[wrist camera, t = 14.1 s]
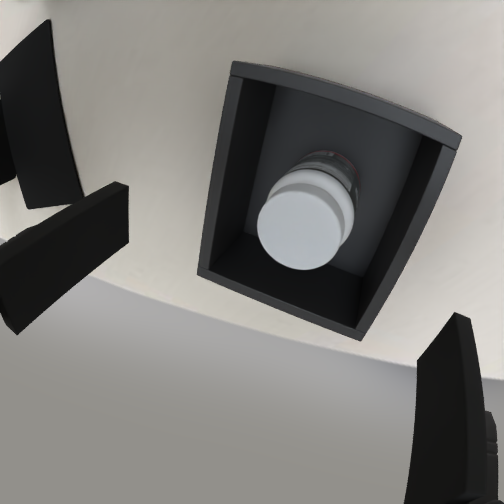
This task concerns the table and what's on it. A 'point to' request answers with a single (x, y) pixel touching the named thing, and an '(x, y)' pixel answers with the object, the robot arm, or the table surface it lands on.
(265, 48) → the table surface
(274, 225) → the pill bottle
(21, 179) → the table lamp
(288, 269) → the basket
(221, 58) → the table surface
